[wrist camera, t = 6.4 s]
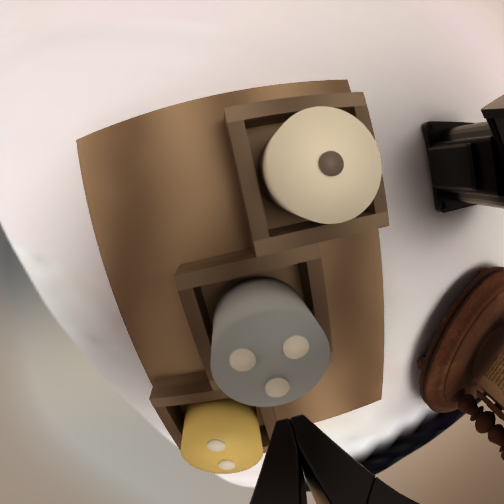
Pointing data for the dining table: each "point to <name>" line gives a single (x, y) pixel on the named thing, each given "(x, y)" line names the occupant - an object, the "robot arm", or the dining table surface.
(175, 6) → the dining table surface
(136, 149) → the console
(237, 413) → the mustard button
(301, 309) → the slate button
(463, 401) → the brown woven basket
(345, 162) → the cream button
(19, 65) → the dining table surface
